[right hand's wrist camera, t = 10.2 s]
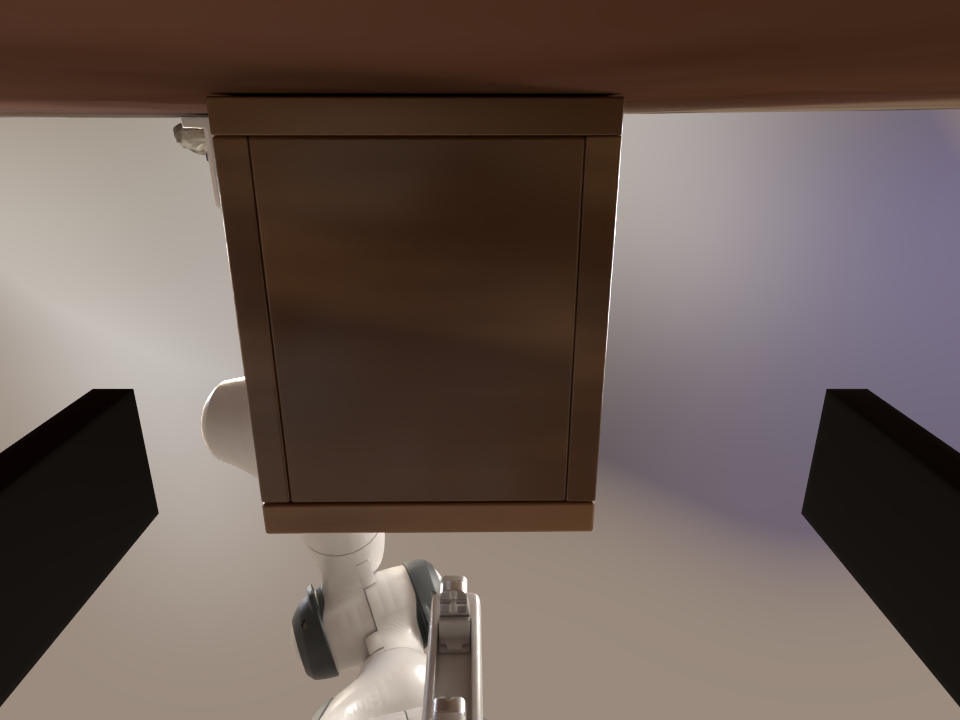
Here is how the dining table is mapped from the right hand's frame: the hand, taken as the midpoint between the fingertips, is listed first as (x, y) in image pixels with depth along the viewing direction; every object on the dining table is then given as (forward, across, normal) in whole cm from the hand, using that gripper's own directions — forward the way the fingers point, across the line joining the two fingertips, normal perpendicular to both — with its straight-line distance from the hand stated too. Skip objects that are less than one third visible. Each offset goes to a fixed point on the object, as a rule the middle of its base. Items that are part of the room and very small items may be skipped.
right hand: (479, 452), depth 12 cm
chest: (+13, +2, -6) cm, 14 cm away
